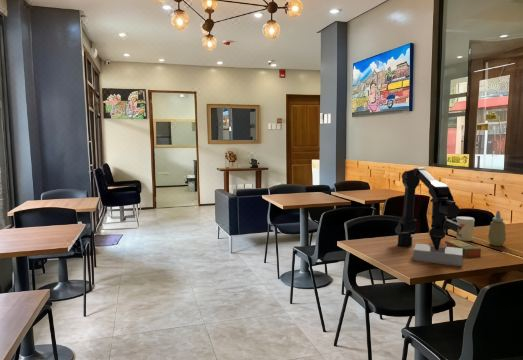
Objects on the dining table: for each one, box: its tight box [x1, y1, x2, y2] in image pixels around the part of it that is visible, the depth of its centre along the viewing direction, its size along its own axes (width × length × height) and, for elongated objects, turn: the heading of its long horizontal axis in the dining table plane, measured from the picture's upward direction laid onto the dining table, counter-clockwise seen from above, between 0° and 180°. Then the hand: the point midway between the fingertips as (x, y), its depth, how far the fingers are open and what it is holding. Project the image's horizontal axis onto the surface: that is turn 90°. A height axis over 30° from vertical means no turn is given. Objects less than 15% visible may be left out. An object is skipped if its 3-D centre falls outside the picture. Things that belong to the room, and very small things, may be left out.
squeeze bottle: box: [487, 210, 507, 247], centre depth 203 cm, size 8×8×18 cm
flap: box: [413, 241, 463, 257], centre depth 179 cm, size 20×12×5 cm, turn 63°
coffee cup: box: [455, 216, 476, 242], centre depth 216 cm, size 9×9×12 cm
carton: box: [444, 239, 482, 258], centre depth 192 cm, size 8×16×4 cm, turn 9°
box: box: [412, 250, 463, 267], centre depth 180 cm, size 20×12×4 cm, turn 63°
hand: (437, 247), depth 175 cm, fingers open, 9 cm apart
